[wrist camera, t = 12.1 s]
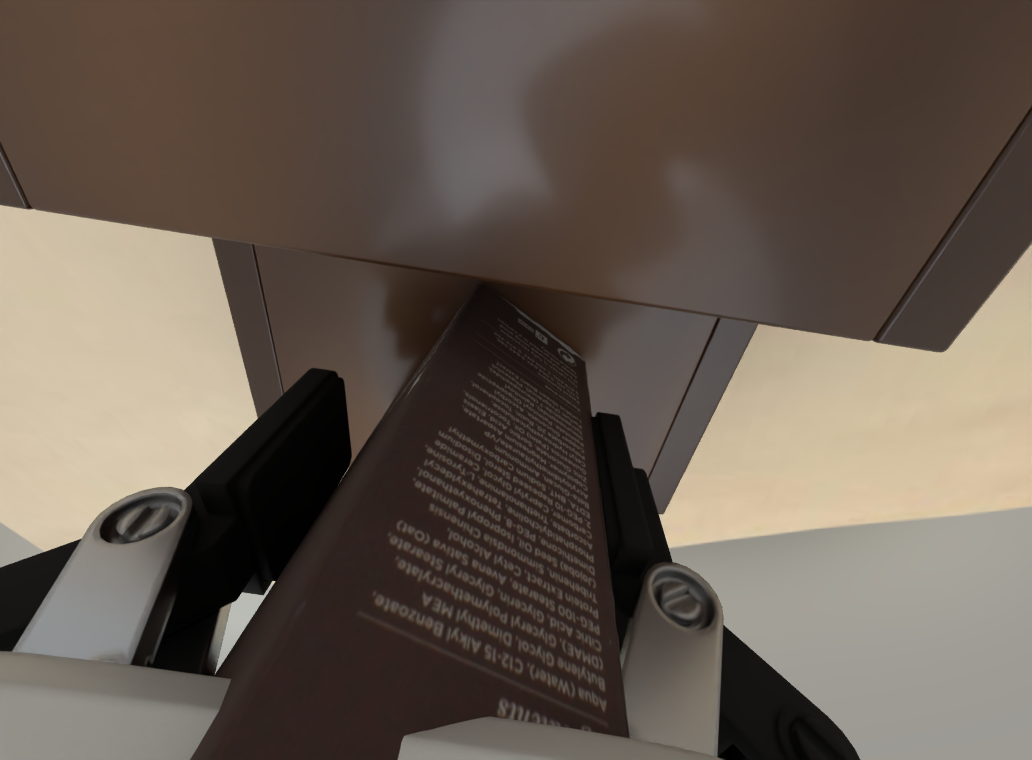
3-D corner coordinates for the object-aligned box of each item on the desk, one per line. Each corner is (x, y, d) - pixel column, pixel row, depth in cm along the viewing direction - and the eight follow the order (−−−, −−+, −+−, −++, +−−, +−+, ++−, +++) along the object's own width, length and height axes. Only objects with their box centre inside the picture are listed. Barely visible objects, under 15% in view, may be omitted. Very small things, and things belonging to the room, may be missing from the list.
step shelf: (837, -72, 11) (1931, -870, 2) (639, 436, 20) (706, 653, 12) (251, -174, 11) (-1000, -1498, 2) (326, 388, 20) (161, 574, 11)
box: (471, 270, 11) (-304, 1599, 1) (588, 359, 12) (781, 1379, 2) (376, 404, 14) (-97, 1136, 4) (481, 466, 15) (342, 1148, 5)
